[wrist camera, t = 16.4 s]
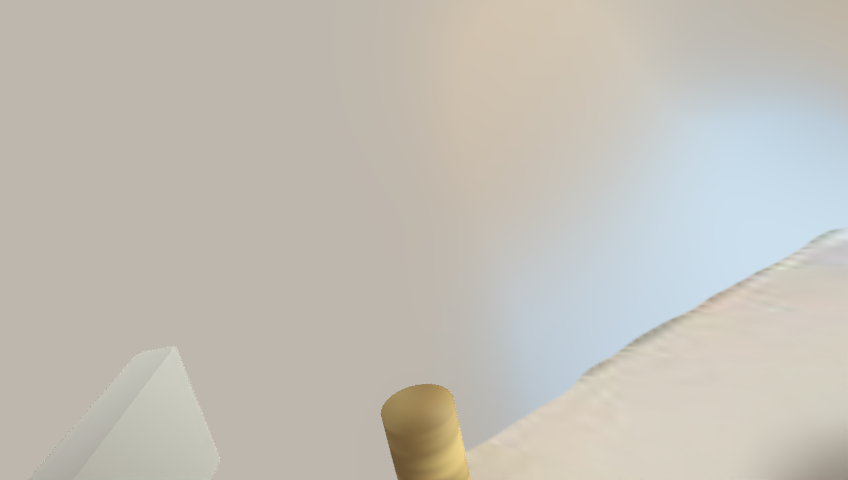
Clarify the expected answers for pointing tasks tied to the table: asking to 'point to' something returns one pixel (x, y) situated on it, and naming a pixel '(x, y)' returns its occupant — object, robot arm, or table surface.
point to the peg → (425, 434)
